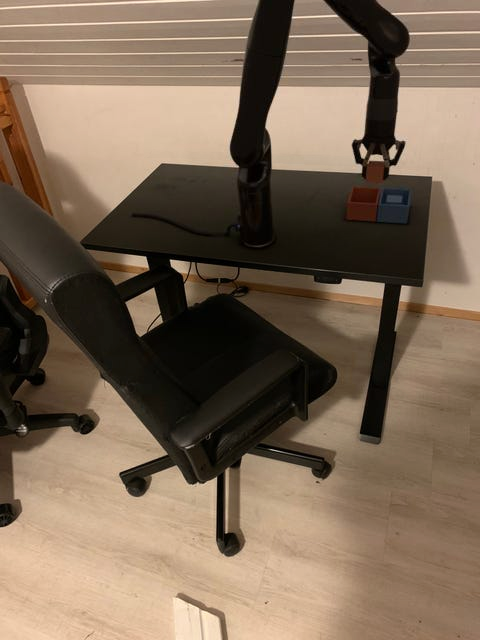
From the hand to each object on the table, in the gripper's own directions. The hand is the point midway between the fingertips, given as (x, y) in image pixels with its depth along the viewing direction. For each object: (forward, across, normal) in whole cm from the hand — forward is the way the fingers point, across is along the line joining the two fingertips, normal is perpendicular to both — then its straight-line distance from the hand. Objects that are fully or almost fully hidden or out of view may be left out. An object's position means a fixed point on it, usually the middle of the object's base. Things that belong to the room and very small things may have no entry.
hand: (374, 178), depth 128 cm
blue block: (+15, +5, +9) cm, 18 cm away
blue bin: (+15, +6, +9) cm, 19 cm away
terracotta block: (0, 0, 0) cm, 0 cm away
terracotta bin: (+15, -3, +9) cm, 18 cm away
